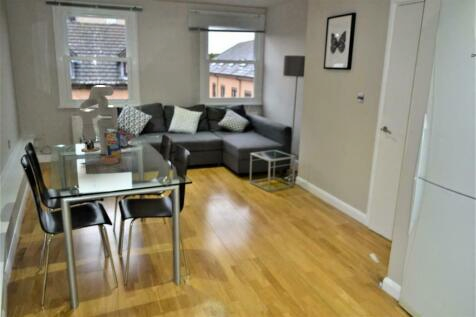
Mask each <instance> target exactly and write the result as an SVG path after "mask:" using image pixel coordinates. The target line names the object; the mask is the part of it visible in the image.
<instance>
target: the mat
mask: <svg viewBox="0 0 476 317" xmlns="http://www.w3.org/2000/svg"><path fill="white" fill-rule="evenodd" d="M99 164H102V161H99V160H93V159H92V160H89V161H85V162H81V163H80V165H84V166H91V167H92V166H95V165H99Z"/></svg>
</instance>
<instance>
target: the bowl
mask: <svg viewBox="0 0 476 317" xmlns="http://www.w3.org/2000/svg"><path fill="white" fill-rule="evenodd" d="M100 158H101V162H102V163H101V164H102V165H114V164H117V163H118V162H119V158H118V156H115V155H109V156H106V155H103V156H101V157H100Z"/></svg>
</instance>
